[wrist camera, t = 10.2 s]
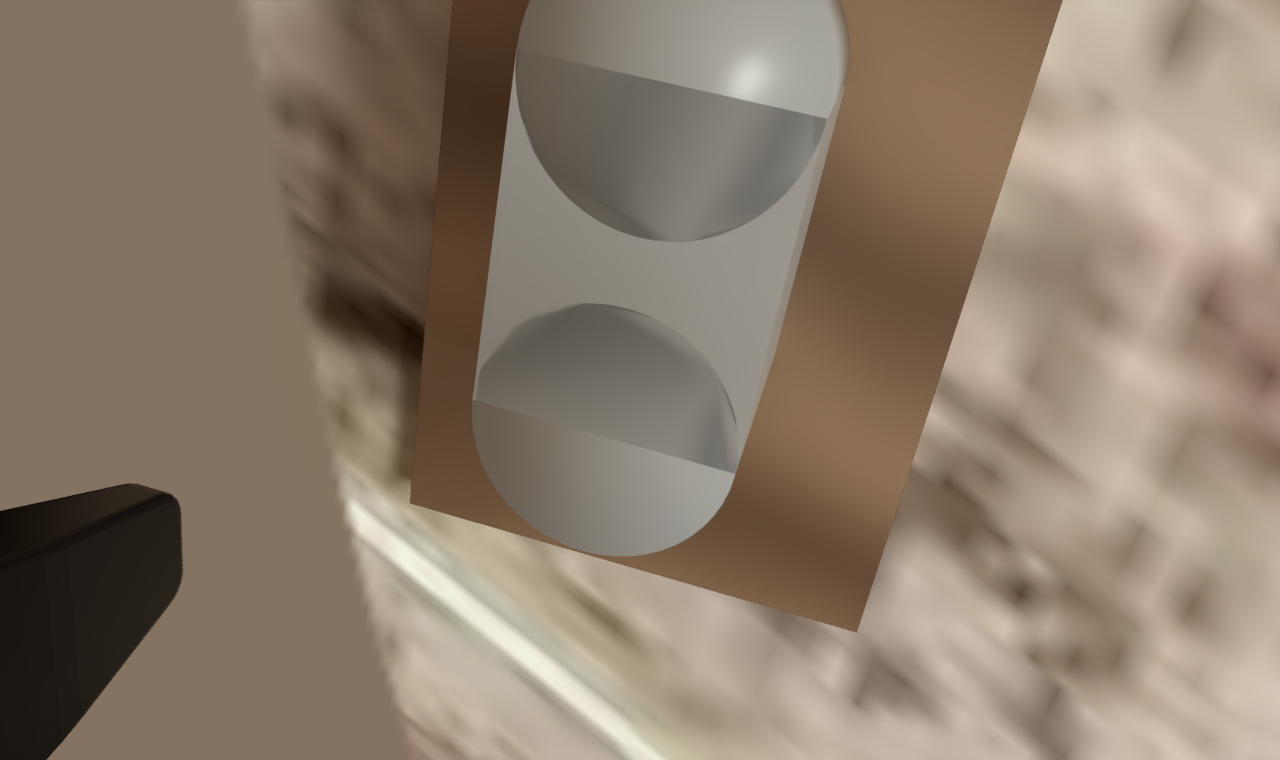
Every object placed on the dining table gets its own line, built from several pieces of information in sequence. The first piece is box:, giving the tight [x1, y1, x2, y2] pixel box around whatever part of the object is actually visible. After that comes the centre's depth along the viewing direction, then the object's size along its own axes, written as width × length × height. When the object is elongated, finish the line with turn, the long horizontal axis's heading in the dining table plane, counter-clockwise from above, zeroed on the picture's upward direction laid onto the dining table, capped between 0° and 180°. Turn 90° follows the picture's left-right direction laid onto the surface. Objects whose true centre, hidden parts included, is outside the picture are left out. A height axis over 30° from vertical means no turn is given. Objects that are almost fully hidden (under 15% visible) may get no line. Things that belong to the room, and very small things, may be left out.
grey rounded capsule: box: [472, 0, 850, 556], centre depth 15 cm, size 11×4×5 cm, turn 169°
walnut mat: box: [410, 0, 1062, 632], centre depth 18 cm, size 16×10×1 cm, turn 170°
